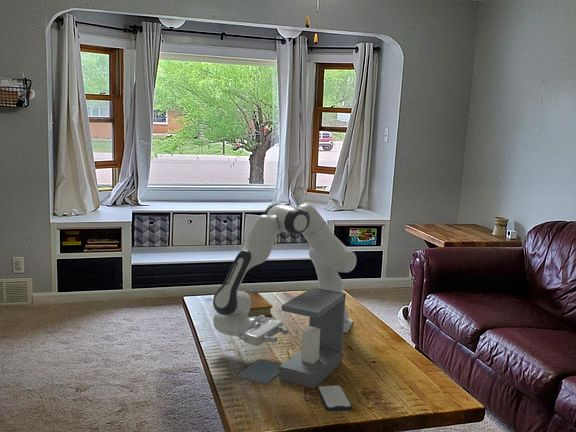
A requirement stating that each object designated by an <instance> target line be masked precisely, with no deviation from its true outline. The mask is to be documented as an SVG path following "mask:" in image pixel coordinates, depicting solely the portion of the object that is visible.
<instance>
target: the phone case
mask: <svg viewBox="0 0 576 432" xmlns="http://www.w3.org/2000/svg"><path fill="white" fill-rule="evenodd" d="M316 390H317V393H318V394H319V397H320V399H321V401H322V403H323V406H324V408H325V411H327V412H347V411H351V410H352V409H353V405H352V403H351V402H350V400H349V398H348V396H347V394H346V393H345V391H344V389H343V387H342V386H341V385H320V386H319V385H318V386H317V388H316Z"/></svg>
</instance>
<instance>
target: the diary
mask: <svg viewBox="0 0 576 432" xmlns="http://www.w3.org/2000/svg"><path fill="white" fill-rule="evenodd" d="M247 293H248V294H249V295H250V297H251V301H252V304H251V308H250V312H249V314H248V317H255V316H260V315H263V316H265V318H271V317H273V314H272V313H271V311H272V308H273V305H272V304H271V303H270V302H269V301H268V300H267V299H266V298H264V297H263V296H262V295H261V294H260V293H259V292H257V291H253V292H247Z"/></svg>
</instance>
